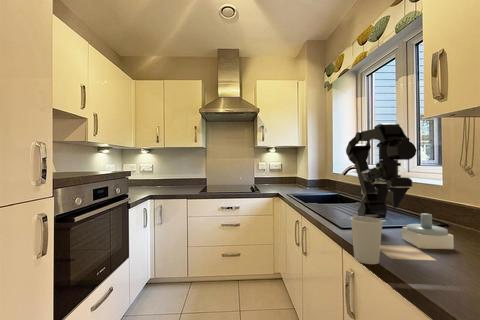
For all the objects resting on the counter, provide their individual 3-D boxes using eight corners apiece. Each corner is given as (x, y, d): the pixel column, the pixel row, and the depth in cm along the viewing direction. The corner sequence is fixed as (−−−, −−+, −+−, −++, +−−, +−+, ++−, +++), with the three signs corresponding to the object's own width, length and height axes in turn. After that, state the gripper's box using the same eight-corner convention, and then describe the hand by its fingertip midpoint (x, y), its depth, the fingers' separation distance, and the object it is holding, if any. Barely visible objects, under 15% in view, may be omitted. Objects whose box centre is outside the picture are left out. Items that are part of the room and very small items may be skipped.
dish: (402, 240, 91) (402, 226, 91) (432, 241, 90) (432, 227, 90) (419, 250, 81) (419, 234, 81) (453, 251, 80) (453, 235, 80)
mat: (373, 247, 84) (373, 244, 84) (412, 248, 83) (412, 245, 83) (391, 261, 72) (391, 258, 72) (436, 263, 71) (436, 260, 71)
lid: (400, 226, 92) (400, 210, 92) (433, 226, 90) (433, 211, 90) (418, 235, 81) (418, 217, 81) (456, 236, 79) (456, 218, 79)
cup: (374, 257, 76) (374, 216, 76) (388, 268, 68) (388, 223, 68) (347, 256, 76) (346, 216, 76) (357, 268, 68) (357, 222, 68)
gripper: (354, 160, 99) (354, 200, 99) (375, 160, 80) (375, 210, 80) (385, 159, 98) (385, 201, 98) (413, 159, 79) (413, 210, 79)
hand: (388, 205), depth 89 cm, fingers open, 9 cm apart
